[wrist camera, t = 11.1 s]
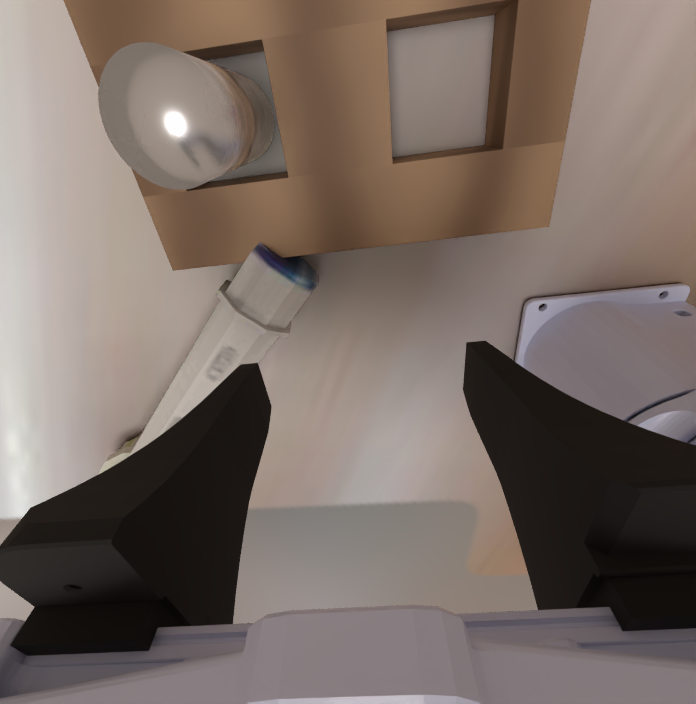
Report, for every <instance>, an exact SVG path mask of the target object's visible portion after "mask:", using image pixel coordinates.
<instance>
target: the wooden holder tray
mask: <svg viewBox="0 0 696 704" xmlns="http://www.w3.org/2000/svg"><path fill="white" fill-rule="evenodd" d="M64 2H65V5H66V7H67V10H68V12H69V15H70V17H71V20H72V22H73V25H74V27H75V30H76V32H77V35H78V37H79V40H80V42H81V44H82V47H83V49H84V52H85V54H86V57H87V59H88V62H89V64H90V67H91V69H92V72H93V74H94V77H95V79H96V82H97V84H98V86H99V83H100V79H101V75H102V72H103V70H104V67H105V66H106V64H107V62H108V61H109V59H110V58H111V57H112V56H113V55H114V54H115V53H116V52H117V51H119V50H120V49H121V48H123V47H125V46H127V45H130V44H134V43H139V42H151V43H157V44H161V45H165V46H167V47H170V48H173V49H175V50H178V51H180V52H183V53H186V54H188V55H191V56H193V57H196V58H199V59H201V60H209V59H216V58H222V57H228V56H235V55H241V54H247V53H254V52H260V51H264V52H265V57H266V62H267V68H268V73H269V78H270V83H271V88H272V94H273V99H274V104H275V109H276V115H277V120H278V125H279V130H280V136H281V141H282V146H283V151H284V157H285V162H286V167H287V172H281V173H274V174H266V175H259V176H251V177H244V178H236V179H229V180H221V181H214V182H206V183H204V184H202V185H200V186H197V187H195V188H191V189H183V190H177V189H169V188H165V187H162V186H159V185H156V184H154V183H152V182H150V181H148V180H147V179H145V178H143V177H142V176H140V175H139V174H138V173H137V172H135V171H134V170H133V169H132V170H133V173H134V175H135V178H136V180H137V183H138V185H139V188H140V190H141V193H142V195H143V198H144V200H145V203H146V205H147V208H148V210H149V212H150V215H151V217H152V220H153V222H154V225H155V227H156V230H157V232H158V235H159V237H160V240H161V242H162V245H163V247H164V250H165V252H166V254H167V257H168V259H169V262H170V264H171V267H172V269H173V270H182V269H190V268H199V267H208V266H216V265H225V264H233V263H242V262H245V260H246V259H247V257H248V256H249V254H250V253H251V251H252V250H253V249H254V248H255V247H256V246H257V245H258V244H259V242H261V243H262V244H264V245H265V246H266V247H268V248H269V249H271V250H272V251H273V252H275V253H276V254H278V255H279V256H281V257H282V258H285V257H293V256H302V255H310V254H319V253H327V252H336V251H345V250H353V249H362V248H370V247H379V246H387V245H396V244H404V243H413V242H422V241H430V240H439V239H447V238H456V237H464V236H473V235H482V234H490V233H499V232H507V231H516V230H524V229H533V228H541V227H549V224H550V219H551V214H552V208H553V203H554V197H555V192H556V187H557V181H558V176H559V170H560V165H561V160H562V154H563V149H564V143H565V138H566V133H567V127H568V122H569V116H570V111H571V106H572V100H573V95H574V89H575V84H576V79H577V73H578V68H579V63H580V57H581V52H582V46H583V41H584V36H585V30H586V25H587V19H588V14H589V9H590V3H591V0H64ZM488 15H495V25H494V37H493V50H492V63H491V75H490V88H489V100H488V113H487V125H486V138H485V145H484V146H476V147H469V148H461V149H454V150H446V151H439V152H431V153H424V154H416V155H409V156H401V157H394V158H392V142H391V120H390V98H389V76H388V53H387V31H393V30H399V29H406V28H412V27H418V26H425V25H431V24H437V23H444V22H450V21H456V20H463V19H469V18H475V17H482V16H488Z"/></svg>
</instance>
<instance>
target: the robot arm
mask: <svg viewBox="0 0 696 704" xmlns="http://www.w3.org/2000/svg"><path fill="white" fill-rule="evenodd" d="M662 292H663V294H662V295H660V293H662ZM689 292H690V287H689V286H687V285H685V284H683V283H678V284H668V285H659V286H649V287H639V288H630V289H620V290H611V291H601V292H591V293H582V294H572V295H562V296H553V297H543V298H533V299H530V300H528V301H527V302H526V303H525V305H524V308H523V314H522V320H521V326H520V332H519V338H518V344H517V350H516V356H515V361H513V360H512V359H510V358H509V357H508V356H506V355H505V354H503V353H502V352H501V351H499V350H498V349H496V348H495V347H494V346H492V345H491V344H489V343H488V342H486V341H478V342H467V344H466V358H465V371H464V384H463V391H464V395H465V398H466V402H467V405H468V408H469V412H470V415H471V417H472V420H473V422H474V424H475V426H476V429H477V431H478V433H479V435H480V437H481V440H482V442H483V444H484V446H485V448H486V451H487V453H488V455H489V457H490V459H491V462H492V464H493V466H494V468H495V471H496V473H497V475H498V478H499V480H500V483H501V486H502V489H503V492H504V495H505V498H506V501H507V504H508V507H509V510H510V513H511V517H512V520H513V523H514V526H515V529H516V533H517V536H518V539H519V542H520V546H521V549H522V553H523V556H524V560H525V563H526V567H527V570H528V574H529V577H530V581H531V585H532V589H533V592H534V596H535V600H536V604H537V607H538V610H531V611H508V612H487V613H465V614H455V613H452V612H450V611H447V610H445V609H442V608H440V607H437V606H423V605H397V606H376V607H355V608H333V609H313V610H291V611H285V612H279V613H273V614H268V615H266V616H265V617H263V618H261V619H260V620H258V621H257V622H255V623H247V624H233V615H234V605H235V595H236V586H237V578H238V570H239V562H240V555H241V548H242V541H243V535H244V528H245V522H246V517H247V511H248V505H249V500H250V495H251V491H252V487H253V484H254V480H255V477H256V473H257V470H258V466H259V463H260V459H261V456H262V452H263V449H264V445H265V441H266V438H267V434H268V429H269V422H270V415H271V404H270V400H269V397H268V394H267V391H266V388H265V385H264V381H263V378H262V375H261V372H260V369H259V366H258V363H251V364H241V365H240V366H238V367H237V368H236V369H235V370H234V371H233V372H232V373H231V374H230V375H229V376H228V377H227V378H226V379H225V380H224V381H222V382H221V383H220V384H219V385H218V386H217V387H216V388H215V389H214V390H213V391H212V392H211V393H210V394H209V395H208V396H207V397H206V398H205V399H204V400H203V401H201V402H200V403H199V404H198V405H197V406H196V407H195V408H193V409H192V410H191V411H190V412H189V413H188V414H187V415H185V416H184V417H183V418H182V419H181V420H180V421H178V422H177V423H176V424H175V425H173V426H172V427H171V428H170V429H168V430H167V431H166V432H164V433H163V434H162V435H160V436H159V437H157V438H156V439H155V440H153V441H152V442H150V443H149V444H147V445H146V446H144V447H143V448H141V449H140V450H138V451H137V452H135V453H133V454H132V455H130V456H129V457H127V458H126V459H124V460H123V461H121V462H119V463H118V464H116V465H114V466H113V467H111V468H109V469H107V470H106V471H104V472H102V473H100V474H98V475H97V476H95V477H93V478H91V479H89V480H87V481H85V482H84V483H82V484H80V485H78V486H76V487H74V488H72V489H70V490H68V491H65V492H63V493H61V494H59V495H57V496H55V497H53V498H51V499H49V500H47V501H45V502H42V503H40V504H38V505H36V506H34V507H31V508H30V509H29V510H28V512H27V513H26V514H25V515H24V517H23V518H22V519H21V520H20V522H19V523H18V524H17V525H16V527H15V528H14V529H13V530H12V532H11V533H10V534H9V535H8V537H7V538H6V539H5V540H4V542H3V543H2V544H1V545H0V581H1V582H2V583H3V584H5V585H6V586H7V587H9V588H10V589H11V590H13V591H14V592H15V593H17V594H18V595H19V596H21V597H22V598H24V599H25V600H26V601H28V602H29V603H31V604H32V605H33V606H35V607H34V609H33V611H32V612H31V614H30V615H29V617H28V618H27V620H26V621H22V620H18V619H11V618H1V619H0V704H696V307H695V306H693V305H691V304H689V303H687V302H686V299H687V297H688V295H689ZM659 295H660V296H659ZM541 304H544V306H543V307H542V308H539V306H540V305H541Z"/></svg>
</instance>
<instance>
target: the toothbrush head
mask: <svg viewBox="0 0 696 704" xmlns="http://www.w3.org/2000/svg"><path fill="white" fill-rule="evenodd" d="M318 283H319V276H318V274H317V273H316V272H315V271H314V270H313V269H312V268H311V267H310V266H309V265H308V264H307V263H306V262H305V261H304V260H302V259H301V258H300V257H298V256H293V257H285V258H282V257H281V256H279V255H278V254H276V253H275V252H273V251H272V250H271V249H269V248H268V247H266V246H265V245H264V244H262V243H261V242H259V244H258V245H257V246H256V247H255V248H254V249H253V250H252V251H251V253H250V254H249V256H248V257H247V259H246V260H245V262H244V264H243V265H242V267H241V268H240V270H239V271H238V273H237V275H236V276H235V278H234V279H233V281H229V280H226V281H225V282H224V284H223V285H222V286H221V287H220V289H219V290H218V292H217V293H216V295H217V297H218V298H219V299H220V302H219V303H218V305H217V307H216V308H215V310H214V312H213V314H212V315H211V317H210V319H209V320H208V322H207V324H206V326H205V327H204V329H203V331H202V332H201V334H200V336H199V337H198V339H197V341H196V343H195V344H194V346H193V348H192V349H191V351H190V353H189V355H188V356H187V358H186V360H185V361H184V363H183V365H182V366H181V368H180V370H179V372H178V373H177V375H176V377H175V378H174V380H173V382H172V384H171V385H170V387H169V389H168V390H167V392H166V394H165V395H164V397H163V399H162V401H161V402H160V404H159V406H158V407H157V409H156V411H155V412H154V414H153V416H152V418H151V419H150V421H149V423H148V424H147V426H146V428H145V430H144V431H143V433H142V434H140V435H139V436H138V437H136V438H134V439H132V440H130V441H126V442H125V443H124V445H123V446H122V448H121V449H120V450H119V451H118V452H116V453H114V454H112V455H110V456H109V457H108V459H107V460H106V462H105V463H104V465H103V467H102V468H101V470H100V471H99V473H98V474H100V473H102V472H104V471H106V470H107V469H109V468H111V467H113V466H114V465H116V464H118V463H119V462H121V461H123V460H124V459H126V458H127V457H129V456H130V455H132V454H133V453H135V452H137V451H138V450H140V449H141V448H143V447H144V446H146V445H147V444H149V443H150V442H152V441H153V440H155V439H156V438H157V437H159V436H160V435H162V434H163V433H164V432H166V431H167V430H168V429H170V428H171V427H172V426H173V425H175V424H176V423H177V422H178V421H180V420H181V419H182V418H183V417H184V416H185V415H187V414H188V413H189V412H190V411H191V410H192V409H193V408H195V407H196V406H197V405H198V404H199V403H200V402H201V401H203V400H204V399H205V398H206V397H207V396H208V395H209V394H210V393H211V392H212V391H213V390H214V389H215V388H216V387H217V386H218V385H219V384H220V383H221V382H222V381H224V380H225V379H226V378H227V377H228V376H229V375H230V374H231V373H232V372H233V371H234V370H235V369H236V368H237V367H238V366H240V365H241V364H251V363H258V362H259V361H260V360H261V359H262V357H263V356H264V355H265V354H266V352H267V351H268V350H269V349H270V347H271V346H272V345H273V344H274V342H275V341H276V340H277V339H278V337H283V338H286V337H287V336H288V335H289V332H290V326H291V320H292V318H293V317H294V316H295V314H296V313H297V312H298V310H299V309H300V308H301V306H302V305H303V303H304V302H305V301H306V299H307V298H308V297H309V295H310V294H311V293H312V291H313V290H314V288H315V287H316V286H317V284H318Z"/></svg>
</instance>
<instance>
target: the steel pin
mask: <svg viewBox="0 0 696 704" xmlns="http://www.w3.org/2000/svg"><path fill="white" fill-rule="evenodd" d="M98 96H99V108H100V114H101V118H102V122H103V125H104V128H105V130H106V133H107V135H108V137H109V139H110V141H111V143H112V144H113V146H114V148H115V149H116V151H117V152H118V153H119V155H120V156H121V157H122V159H123V160H124V161H125V162H126V163H127V164H128V165H129V166H130V167H131V168H132V169H133V170H134V171H135V172H137V173H138V174H139V175H140V176H142V177H143V178H145V179H147V180H148V181H150V182H152V183H154V184H156V185H159V186H162V187H165V188H169V189H177V190H183V189H191V188H195V187H197V186H200V185H202V184H204V183H206V182H208V181H211V180H213V179H215V178H217V177H219V176H221V175H224V174H226V173H228V172H230V171H232V170H234V169H237V168H239V167H241V166H243V165H245V164H247V163H249V162H252V161H254V160H256V159H258V158H259V157H261V156H262V155H263V154H264V153H265V152H266V151H267V149H268V148H269V146H270V144H271V141H272V139H273V134H274V116H273V111H272V108H271V105H270V103H269V101H268V99H267V97H266V95H265V94H264V92H263V91H262V90H261V88H260V87H259V86H258V85H257V84H256V83H255V82H253V81H252V80H251V79H249V78H247V77H245V76H243V75H241V74H238V73H235V72H233V71H230V70H228V69H225V68H222V67H220V66H217V65H214V64H212V63H209V62H207V61H204V60H201V59H199V58H196V57H193V56H191V55H188V54H186V53H183V52H180V51H178V50H175V49H173V48H170V47H167V46H165V45H161V44H157V43H151V42H139V43H134V44H130V45H127V46H125V47H123V48H121V49H120V50H119V51H117V52H116V53H115V54H114V55H113V56H112V57H111V58H110V59H109V61H108V62H107V64H106V66H105V67H104V70H103V72H102V75H101V79H100V83H99V92H98Z"/></svg>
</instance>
